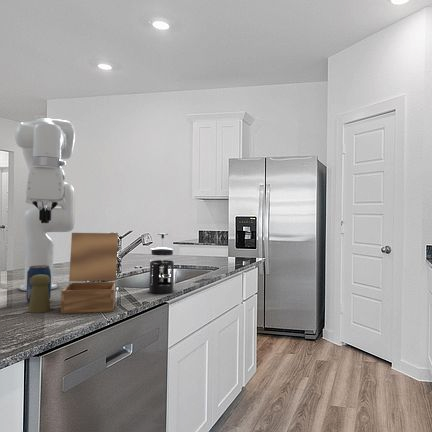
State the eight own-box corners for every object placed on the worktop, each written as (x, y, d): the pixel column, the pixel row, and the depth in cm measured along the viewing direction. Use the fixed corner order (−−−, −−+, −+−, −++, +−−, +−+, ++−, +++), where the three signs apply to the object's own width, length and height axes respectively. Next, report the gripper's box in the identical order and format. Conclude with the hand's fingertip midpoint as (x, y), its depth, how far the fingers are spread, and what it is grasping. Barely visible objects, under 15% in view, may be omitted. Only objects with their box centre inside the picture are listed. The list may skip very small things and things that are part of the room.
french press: (155, 288, 174) (156, 232, 174) (177, 290, 173) (179, 233, 173) (142, 294, 162) (144, 233, 162) (166, 295, 161) (168, 234, 161)
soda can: (52, 300, 147) (53, 265, 147) (47, 304, 140) (48, 267, 140) (29, 300, 145) (30, 265, 145) (23, 304, 138) (24, 267, 138)
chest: (113, 311, 133) (113, 289, 133) (60, 313, 128) (61, 291, 128) (115, 301, 148) (116, 281, 148) (68, 303, 143) (69, 282, 143)
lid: (117, 233, 150) (118, 233, 151) (71, 232, 145) (72, 232, 146) (116, 280, 148) (116, 280, 148) (69, 281, 143) (69, 281, 143)
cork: (40, 313, 128) (41, 276, 128) (23, 311, 129) (24, 275, 129) (55, 309, 134) (56, 274, 134) (38, 307, 135) (39, 272, 135)
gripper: (75, 166, 139) (73, 223, 139) (22, 163, 134) (20, 222, 134) (71, 164, 131) (69, 224, 132) (15, 160, 127) (13, 222, 127)
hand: (45, 222), depth 133 cm, fingers closed
